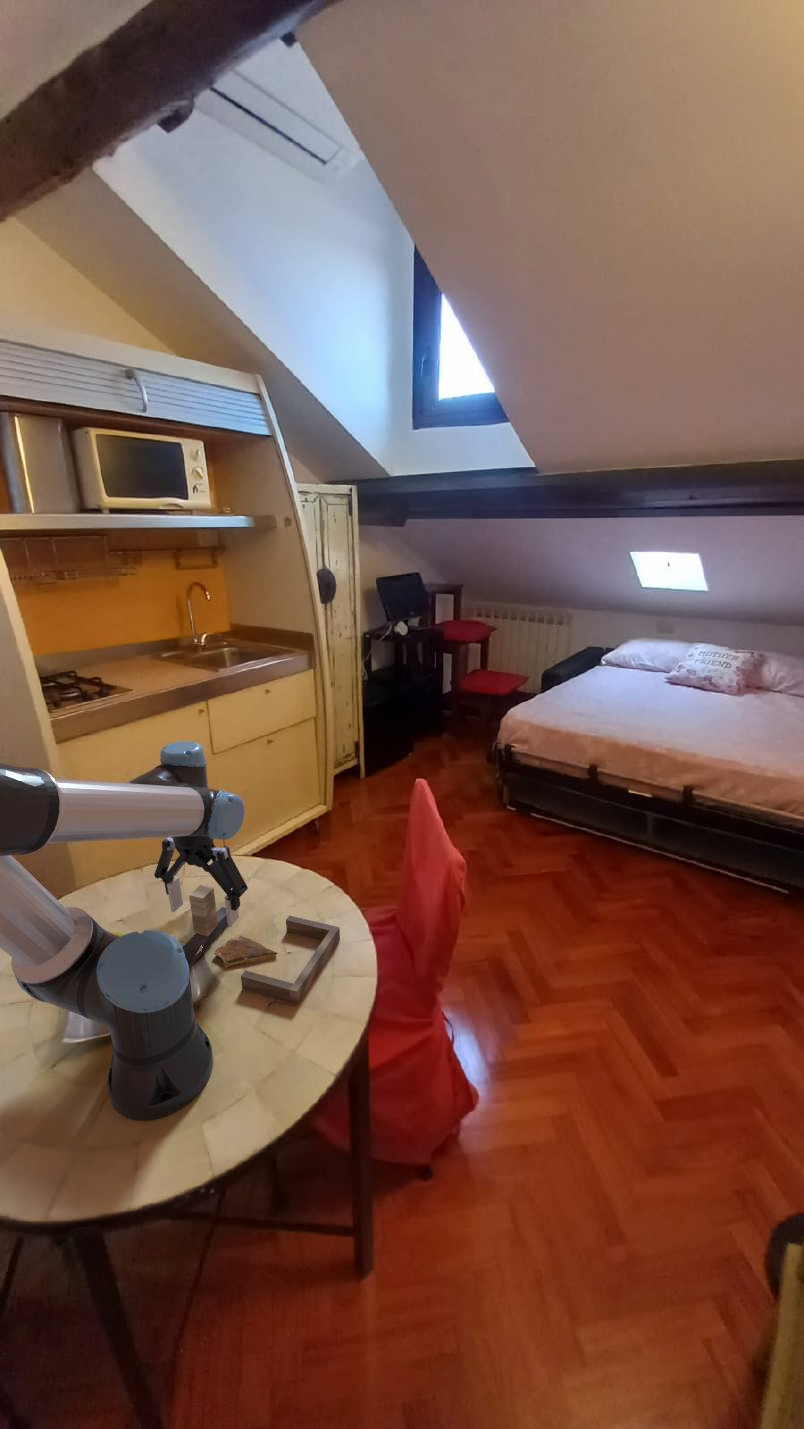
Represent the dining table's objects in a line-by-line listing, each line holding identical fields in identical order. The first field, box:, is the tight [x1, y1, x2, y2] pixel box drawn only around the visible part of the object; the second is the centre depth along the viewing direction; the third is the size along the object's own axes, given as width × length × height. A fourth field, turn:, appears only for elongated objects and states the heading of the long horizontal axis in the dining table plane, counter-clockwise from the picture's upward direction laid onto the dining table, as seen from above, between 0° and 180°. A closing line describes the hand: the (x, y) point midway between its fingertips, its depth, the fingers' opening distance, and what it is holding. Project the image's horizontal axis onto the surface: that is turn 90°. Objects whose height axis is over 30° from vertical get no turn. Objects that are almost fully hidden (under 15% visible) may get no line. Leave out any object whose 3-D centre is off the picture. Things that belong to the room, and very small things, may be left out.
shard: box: [213, 935, 278, 969], centre depth 117 cm, size 11×8×2 cm
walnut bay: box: [240, 915, 341, 1006], centre depth 115 cm, size 18×12×3 cm, turn 161°
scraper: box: [182, 884, 228, 966], centre depth 120 cm, size 14×3×12 cm, turn 161°
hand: (204, 914), depth 120 cm, fingers open, 13 cm apart
